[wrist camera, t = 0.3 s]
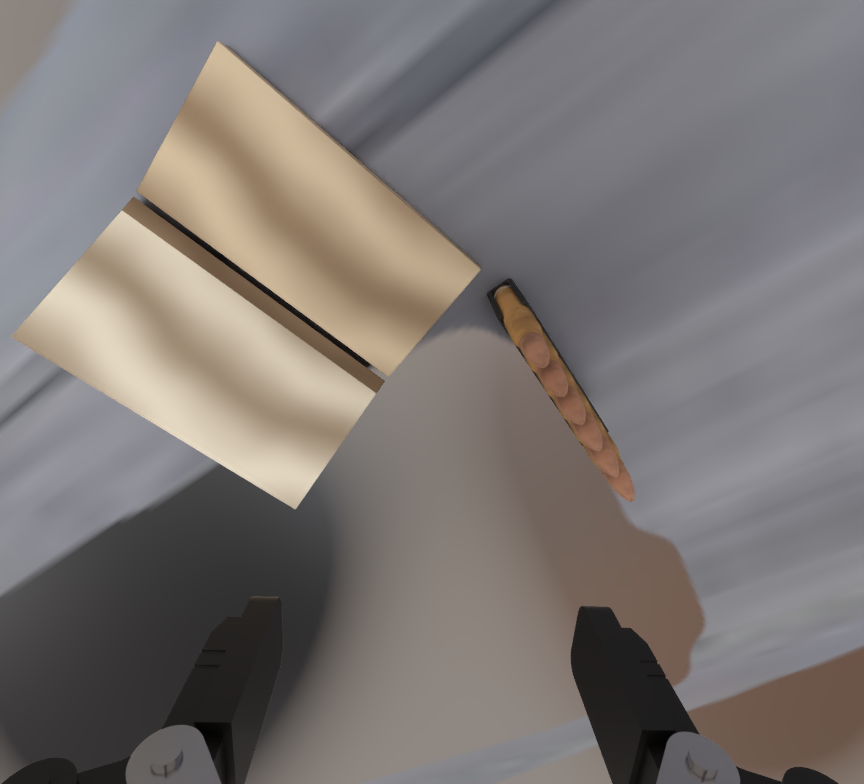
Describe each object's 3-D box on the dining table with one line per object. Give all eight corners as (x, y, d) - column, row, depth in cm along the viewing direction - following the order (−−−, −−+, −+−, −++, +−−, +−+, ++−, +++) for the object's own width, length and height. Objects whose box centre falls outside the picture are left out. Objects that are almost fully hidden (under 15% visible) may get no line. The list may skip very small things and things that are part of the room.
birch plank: (139, 206, 30) (133, 197, 28) (379, 381, 35) (384, 381, 33) (23, 339, 28) (10, 337, 27) (294, 504, 33) (295, 509, 31)
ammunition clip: (485, 293, 32) (514, 360, 21) (510, 276, 32) (552, 336, 21) (564, 412, 36) (623, 521, 25) (587, 399, 36) (657, 504, 25)
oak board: (228, 47, 27) (217, 40, 25) (478, 264, 31) (480, 269, 30) (150, 189, 30) (136, 191, 28) (390, 368, 34) (388, 376, 33)
